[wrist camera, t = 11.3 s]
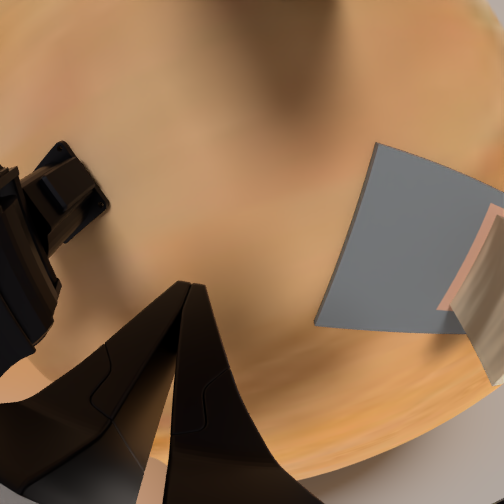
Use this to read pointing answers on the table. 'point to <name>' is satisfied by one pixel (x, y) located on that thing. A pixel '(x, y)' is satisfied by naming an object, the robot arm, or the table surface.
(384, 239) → the slate board
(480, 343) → the maple T block
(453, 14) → the table surface
